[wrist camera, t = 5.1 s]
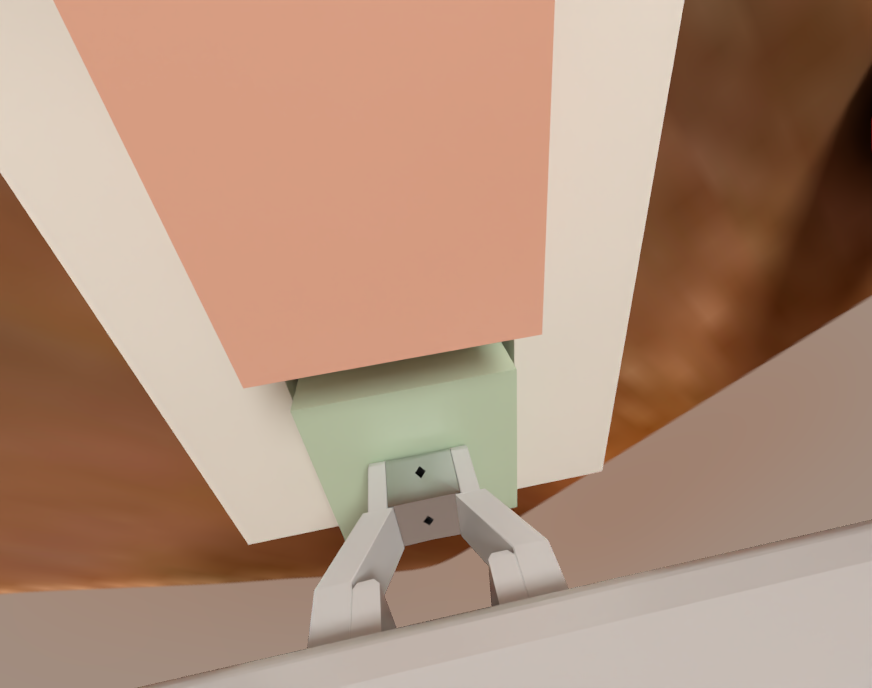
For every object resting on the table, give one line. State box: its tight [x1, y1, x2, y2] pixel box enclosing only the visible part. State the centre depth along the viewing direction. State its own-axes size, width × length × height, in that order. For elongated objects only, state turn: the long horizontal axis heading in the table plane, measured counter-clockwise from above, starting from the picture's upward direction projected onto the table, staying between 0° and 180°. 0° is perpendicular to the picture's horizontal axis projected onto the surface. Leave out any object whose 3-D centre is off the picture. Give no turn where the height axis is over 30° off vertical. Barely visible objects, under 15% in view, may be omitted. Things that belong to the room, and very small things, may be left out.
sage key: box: [290, 342, 517, 541], centre depth 14 cm, size 6×6×4 cm
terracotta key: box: [53, 0, 555, 388], centre depth 8 cm, size 6×6×4 cm
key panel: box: [0, 0, 684, 545], centre depth 10 cm, size 14×24×4 cm, turn 7°
